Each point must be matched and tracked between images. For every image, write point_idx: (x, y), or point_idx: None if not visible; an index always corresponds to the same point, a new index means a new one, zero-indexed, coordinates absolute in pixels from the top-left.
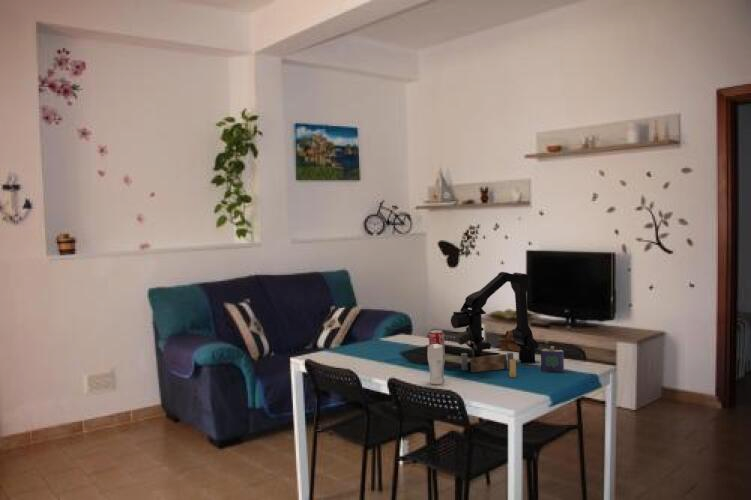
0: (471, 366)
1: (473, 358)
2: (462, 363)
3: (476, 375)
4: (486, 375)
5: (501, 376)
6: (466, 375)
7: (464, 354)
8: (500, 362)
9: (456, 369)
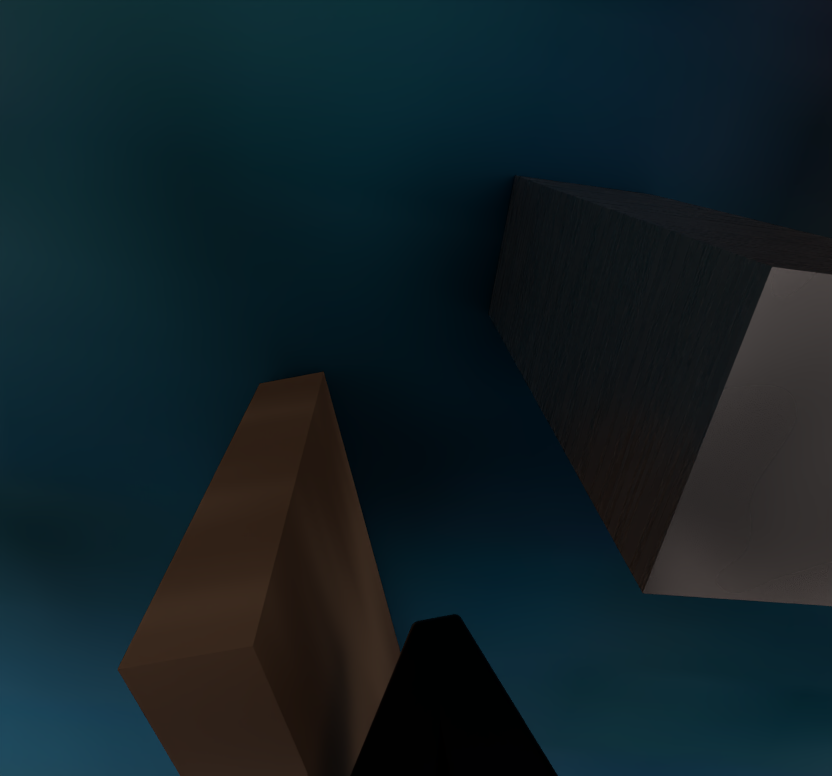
0: (266, 441)
1: (161, 707)
2: (562, 222)
3: (68, 431)
4: (84, 590)
5: (45, 756)
6: (47, 215)
7: (733, 468)
8: None
9: (636, 29)
